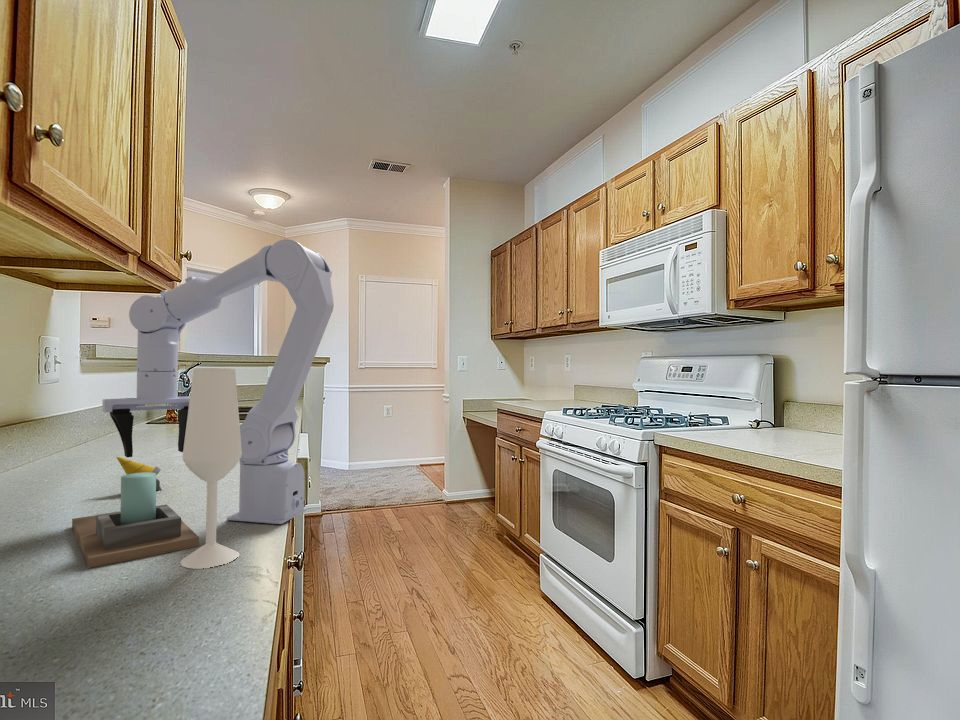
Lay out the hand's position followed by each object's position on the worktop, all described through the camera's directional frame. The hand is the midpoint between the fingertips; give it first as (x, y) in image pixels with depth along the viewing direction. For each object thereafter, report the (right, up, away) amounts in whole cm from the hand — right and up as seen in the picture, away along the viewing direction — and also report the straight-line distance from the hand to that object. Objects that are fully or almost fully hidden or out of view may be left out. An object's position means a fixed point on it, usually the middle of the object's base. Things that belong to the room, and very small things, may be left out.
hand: (156, 453), depth 87 cm
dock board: (+4, -9, -12) cm, 16 cm away
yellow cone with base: (-10, -9, +11) cm, 18 cm away
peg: (+7, -8, -15) cm, 19 cm away
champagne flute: (+19, -10, -20) cm, 30 cm away
